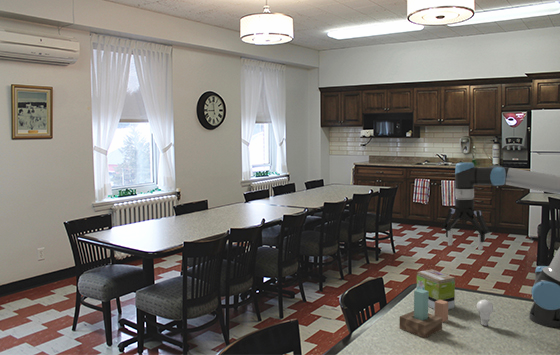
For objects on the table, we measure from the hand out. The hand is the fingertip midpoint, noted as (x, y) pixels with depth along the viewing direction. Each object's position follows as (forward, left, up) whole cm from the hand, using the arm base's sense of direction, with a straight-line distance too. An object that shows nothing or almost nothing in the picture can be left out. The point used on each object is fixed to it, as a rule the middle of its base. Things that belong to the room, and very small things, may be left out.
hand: (464, 247), depth 199 cm
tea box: (+16, -3, -31) cm, 35 cm away
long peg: (+4, +26, -31) cm, 40 cm away
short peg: (+4, +11, -31) cm, 33 cm away
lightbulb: (-11, +3, -31) cm, 33 cm away
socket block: (+4, +26, -31) cm, 40 cm away
